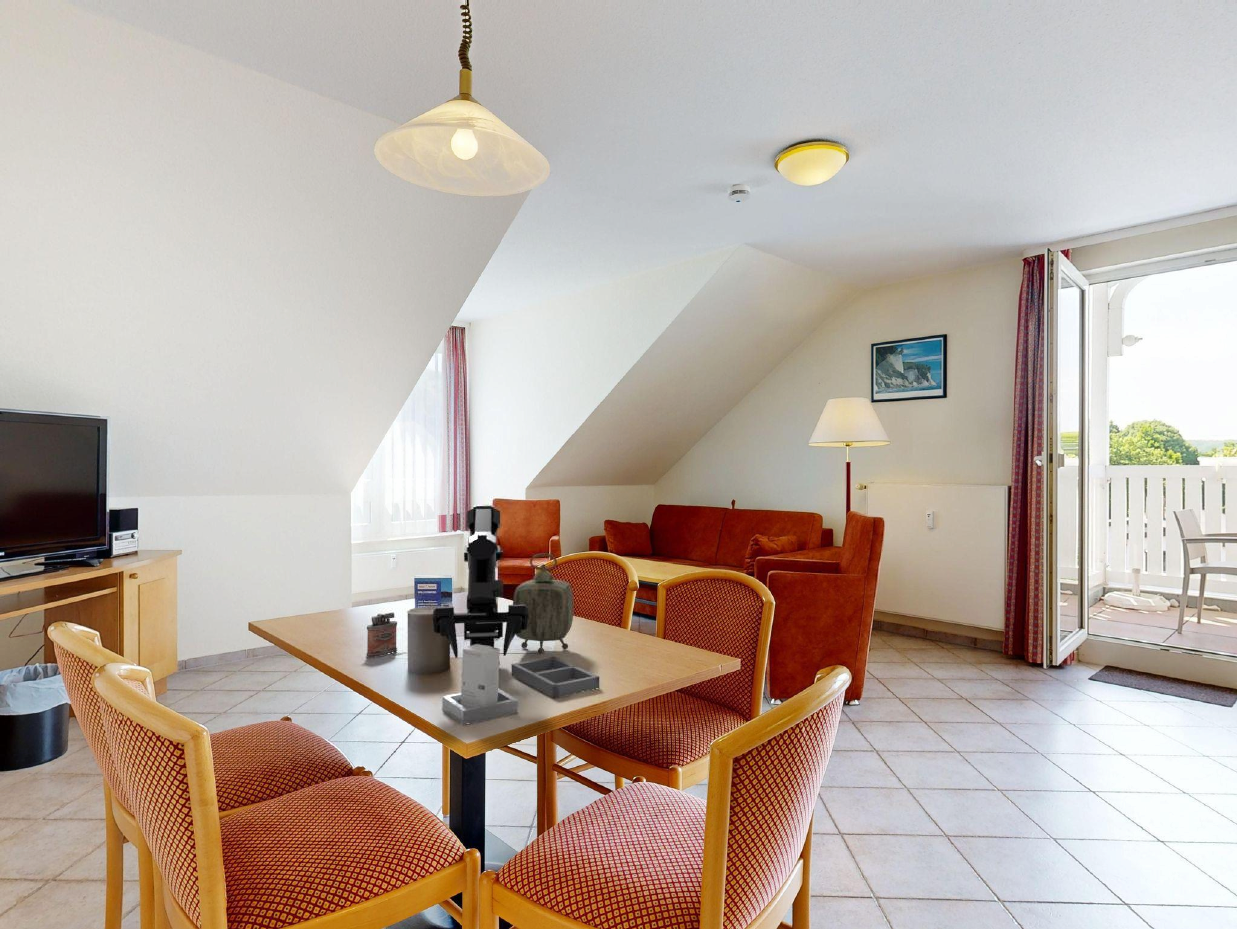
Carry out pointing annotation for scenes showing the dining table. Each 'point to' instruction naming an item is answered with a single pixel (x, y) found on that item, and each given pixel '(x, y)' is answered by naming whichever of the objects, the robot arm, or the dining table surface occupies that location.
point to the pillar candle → (426, 643)
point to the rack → (555, 676)
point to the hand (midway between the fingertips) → (480, 655)
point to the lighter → (381, 635)
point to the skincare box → (479, 675)
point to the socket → (479, 708)
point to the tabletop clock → (545, 607)
